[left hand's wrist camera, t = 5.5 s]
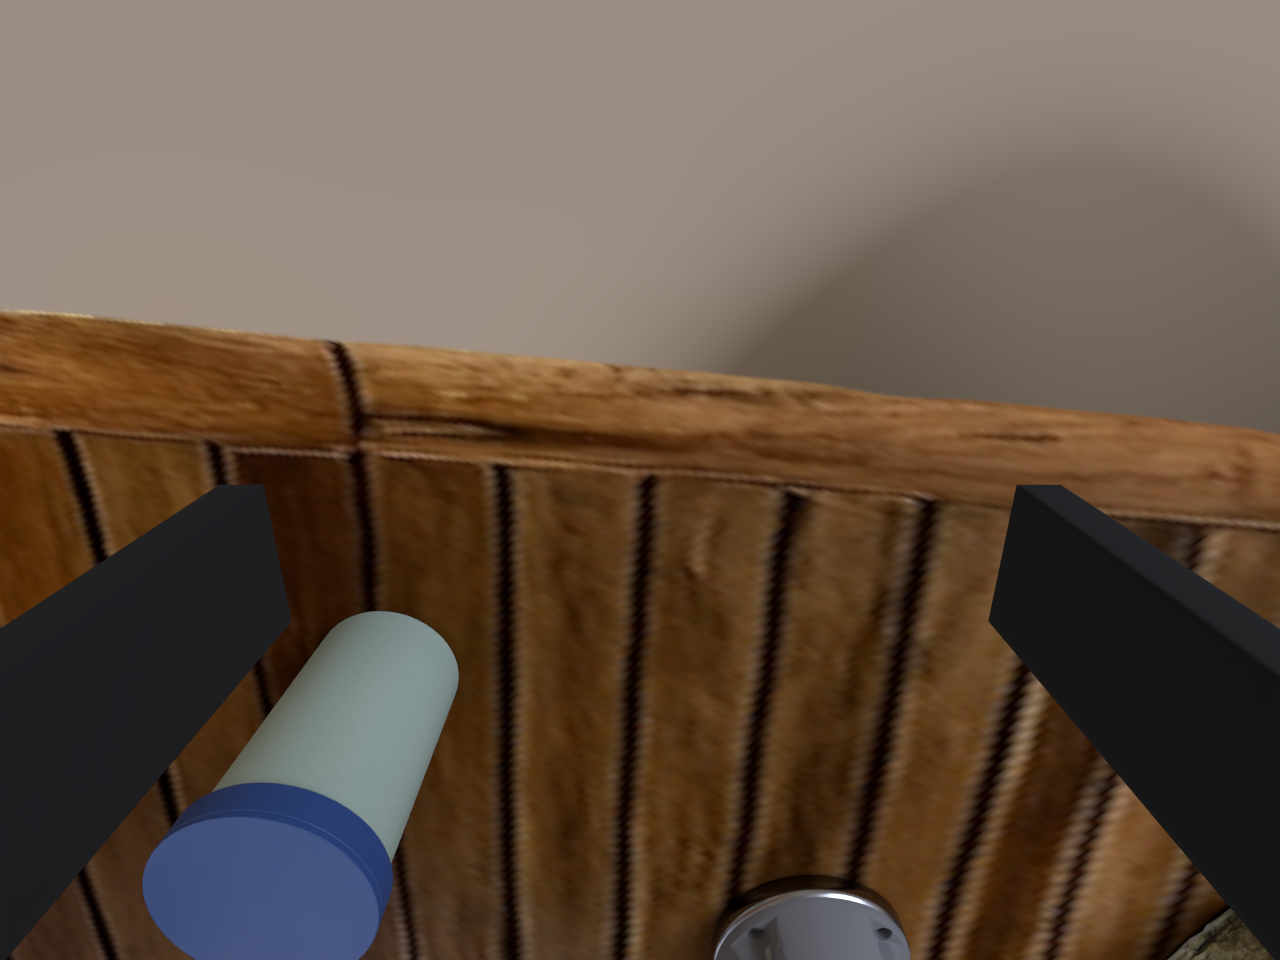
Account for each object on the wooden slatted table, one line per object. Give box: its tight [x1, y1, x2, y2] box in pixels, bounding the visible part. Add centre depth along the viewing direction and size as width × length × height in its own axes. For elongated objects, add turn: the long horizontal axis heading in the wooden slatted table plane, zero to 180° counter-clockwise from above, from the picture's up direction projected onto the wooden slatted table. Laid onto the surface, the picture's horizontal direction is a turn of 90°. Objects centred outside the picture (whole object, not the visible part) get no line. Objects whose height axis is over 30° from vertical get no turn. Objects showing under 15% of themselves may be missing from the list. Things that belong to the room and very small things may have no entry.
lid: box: [142, 783, 393, 960], centre depth 32 cm, size 10×10×2 cm
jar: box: [212, 611, 459, 862], centre depth 39 cm, size 9×9×16 cm
